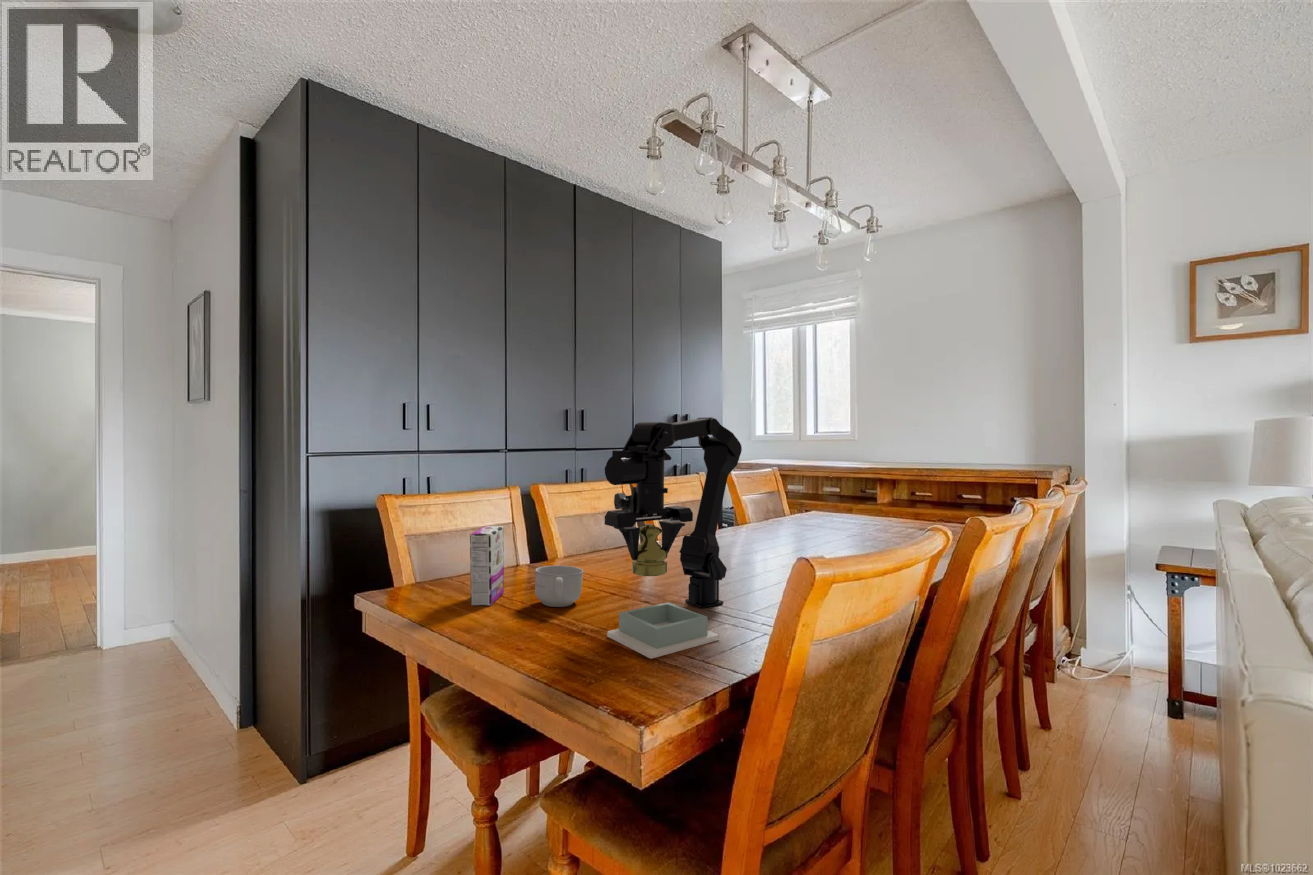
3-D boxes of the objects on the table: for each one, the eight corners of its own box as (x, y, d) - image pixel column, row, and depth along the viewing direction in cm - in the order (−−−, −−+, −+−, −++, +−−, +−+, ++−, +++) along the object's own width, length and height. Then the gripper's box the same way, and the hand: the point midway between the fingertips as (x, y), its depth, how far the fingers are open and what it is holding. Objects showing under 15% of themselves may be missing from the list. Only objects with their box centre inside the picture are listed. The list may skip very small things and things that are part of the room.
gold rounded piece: (624, 572, 125) (624, 523, 124) (651, 567, 129) (652, 520, 129) (646, 578, 119) (647, 528, 119) (674, 573, 124) (675, 525, 124)
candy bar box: (483, 593, 145) (484, 525, 145) (504, 593, 145) (504, 525, 145) (468, 606, 134) (469, 533, 134) (491, 606, 134) (491, 533, 134)
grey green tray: (672, 621, 124) (672, 599, 124) (718, 640, 113) (719, 616, 113) (607, 636, 115) (607, 613, 115) (650, 658, 104) (650, 632, 104)
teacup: (540, 597, 142) (541, 563, 142) (586, 597, 142) (586, 563, 142) (526, 614, 128) (526, 577, 128) (576, 615, 128) (576, 578, 128)
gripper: (663, 478, 136) (663, 547, 136) (591, 481, 125) (590, 556, 125) (694, 482, 127) (694, 555, 127) (619, 485, 116) (618, 566, 116)
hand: (649, 558), depth 124 cm, fingers closed on gold rounded piece, 7 cm apart
